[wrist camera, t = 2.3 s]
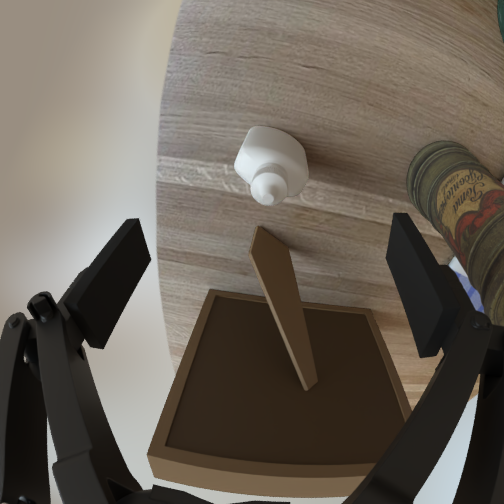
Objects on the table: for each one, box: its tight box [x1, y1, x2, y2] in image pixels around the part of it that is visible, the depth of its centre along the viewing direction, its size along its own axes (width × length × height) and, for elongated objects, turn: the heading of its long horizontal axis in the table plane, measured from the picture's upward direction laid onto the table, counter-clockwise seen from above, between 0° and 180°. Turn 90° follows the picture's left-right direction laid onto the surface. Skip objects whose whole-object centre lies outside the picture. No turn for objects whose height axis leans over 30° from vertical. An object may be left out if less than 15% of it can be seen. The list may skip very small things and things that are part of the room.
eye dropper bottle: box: [234, 126, 309, 206], centre depth 23 cm, size 4×6×12 cm
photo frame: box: [147, 226, 412, 498], centre depth 28 cm, size 15×22×25 cm
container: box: [407, 141, 504, 326], centre depth 20 cm, size 9×9×18 cm
